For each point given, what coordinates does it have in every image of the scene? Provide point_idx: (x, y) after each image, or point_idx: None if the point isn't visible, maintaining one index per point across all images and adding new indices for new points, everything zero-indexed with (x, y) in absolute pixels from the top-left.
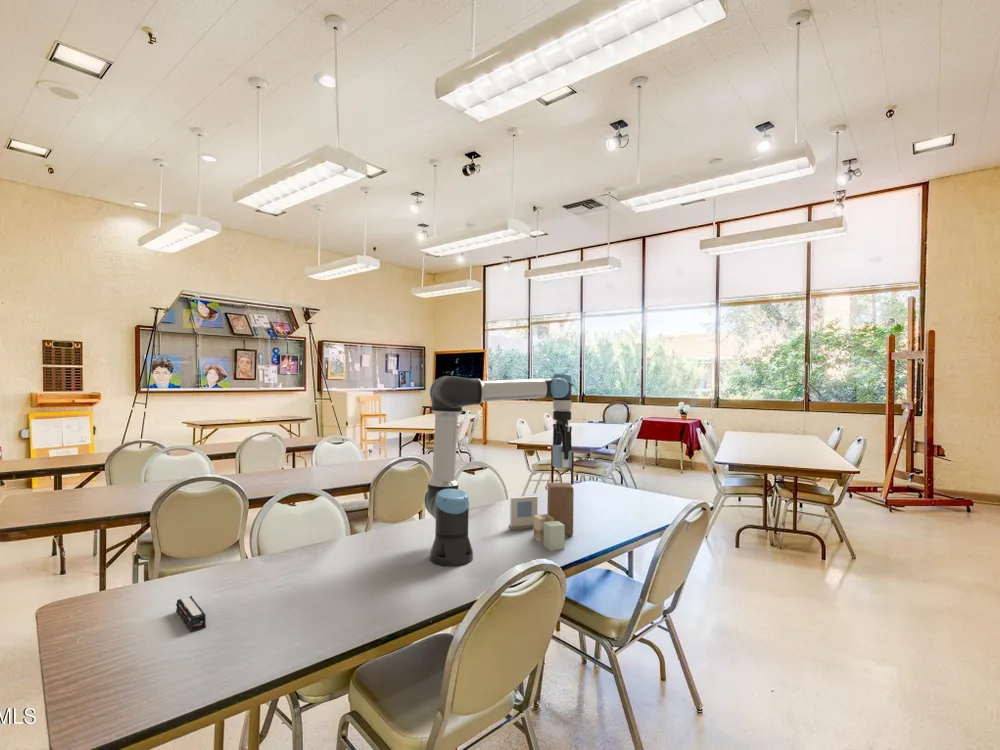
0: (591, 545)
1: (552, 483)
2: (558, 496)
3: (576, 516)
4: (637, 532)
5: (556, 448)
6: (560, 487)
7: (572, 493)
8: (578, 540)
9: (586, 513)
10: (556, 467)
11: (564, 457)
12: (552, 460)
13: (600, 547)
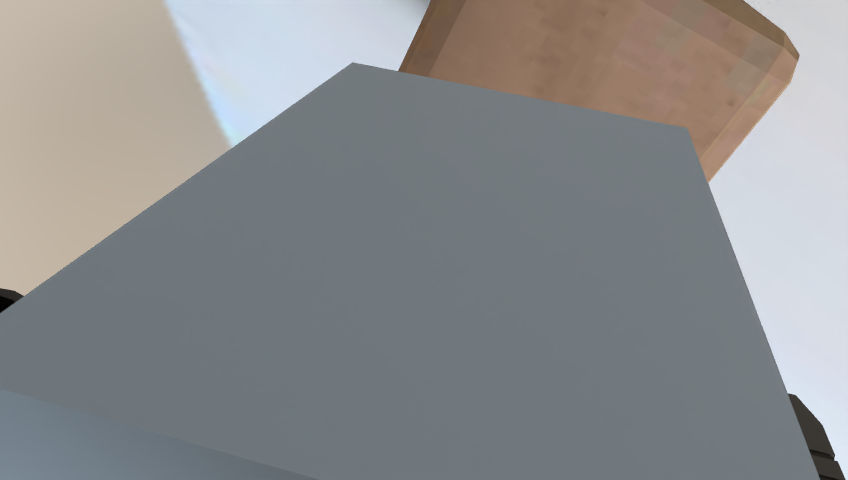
0: (264, 45)
1: (686, 67)
2: None
3: (830, 355)
4: None
5: (267, 340)
6: (429, 35)
7: None
8: (371, 30)
9: (841, 448)
10: (446, 82)
11: None
12: (704, 177)
13: (220, 71)
